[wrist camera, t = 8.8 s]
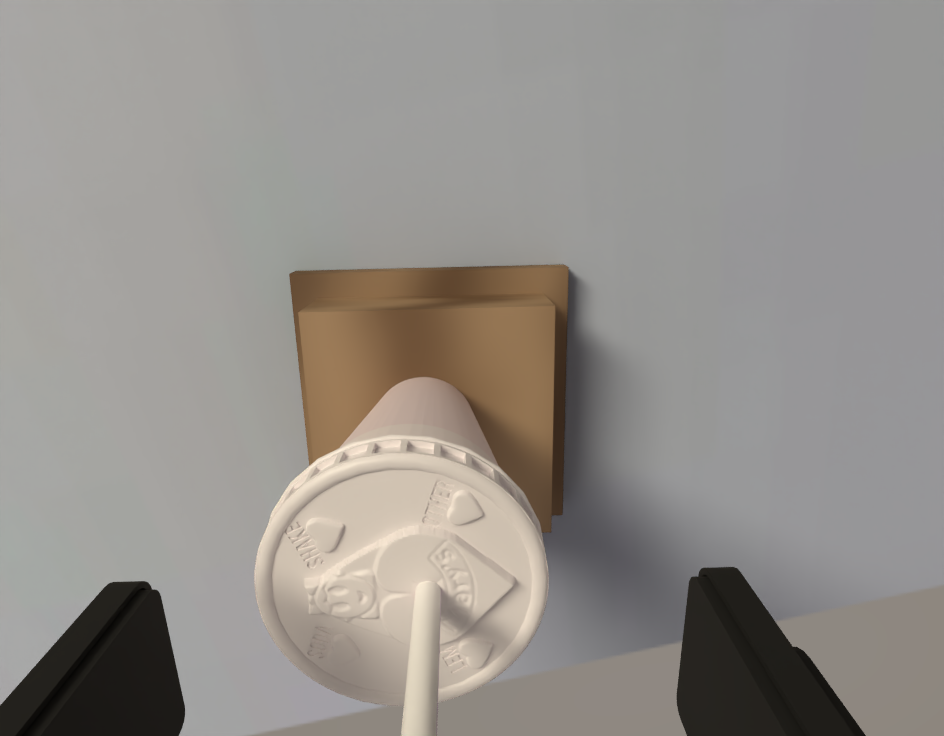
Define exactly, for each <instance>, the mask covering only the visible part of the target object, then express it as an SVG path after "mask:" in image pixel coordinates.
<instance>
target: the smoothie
mask: <svg viewBox="0 0 944 736" xmlns="http://www.w3.org/2000/svg"><path fill="white" fill-rule="evenodd" d="M254 578H255V593H256V600H257V604H258V607H259V611H260V614H261V617H262V619H263V622H264V624H265V626H266V628H267V630H268V632H269V634H270V636H271V637H272V639H273V640H274V642H275V644H276V645H277V646H278V648H279V649H280V650H281V651H282V653H283V654H284V655H285V656H286V657H287V658H288V659H289V660H290V661H291V662H292V663H293V664H294V665H295V666H296V667H297V668H298V669H299V670H301V671H302V672H303V673H304V674H306V675H307V676H308V677H310V678H311V679H313V680H314V681H316V682H318V683H319V684H321V685H323V686H324V687H326V688H328V689H330V690H333V691H335V692H336V693H339V694H342V695H345V696H347V697H350V698H353V699H357V700H360V701H363V702H369V703H374V704H381V705H388V706H404V711H403V721H402V732H401V736H437V717H438V715H437V714H438V702H443V701H446V700H449V699H453V698H456V697H459V696H461V695H464V694H467V693H469V692H471V691H473V690H475V689H477V688H479V687H481V686H483V685H485V684H486V683H488V682H490V681H491V680H493V679H494V678H495V677H497V676H498V675H500V674H501V673H502V672H503V671H505V670H506V669H507V668H508V667H509V666H510V665H511V664H512V663H513V662H514V661H515V660H516V659H517V658H518V657H519V656H520V655H521V654H522V652H523V651H524V650H525V649H526V647H527V646H528V644H529V643H530V641H531V640H532V638H533V637H534V635H535V633H536V631H537V629H538V627H539V625H540V622H541V619H542V617H543V614H544V610H545V606H546V602H547V596H548V584H549V575H548V565H547V560H546V552H545V547H544V542H543V537H542V531H541V526H540V522H539V520H538V518H537V516H536V514H535V513H534V511H533V509H532V507H531V505H530V503H529V501H528V499H527V497H526V495H525V493H524V492H523V491H522V490H521V489H520V488H519V487H518V486H517V485H516V484H515V483H514V481H513V480H512V479H511V478H510V477H509V476H508V475H507V474H506V473H505V472H504V471H503V470H502V469H501V468H500V467H499V466H498V464H497V462H496V460H495V458H494V455H493V453H492V451H491V449H490V447H489V445H488V443H487V441H486V439H485V436H484V434H483V432H482V430H481V428H480V426H479V424H478V422H477V420H476V418H475V415H474V413H473V411H472V409H471V407H470V405H469V403H468V401H467V400H466V398H465V397H464V396H463V394H462V393H461V392H460V391H459V390H458V389H456V388H455V387H454V386H452V385H451V384H449V383H447V382H445V381H442V380H439V379H436V378H430V377H417V378H412V379H408V380H405V381H403V382H400V383H398V384H397V385H395V386H394V387H392V388H391V389H390V390H389V391H388V392H387V393H386V394H385V395H384V396H383V397H382V398H381V400H380V401H379V402H378V403H377V404H376V405H375V407H374V408H373V409H372V410H371V411H370V412H369V414H368V415H367V416H366V417H365V418H364V420H363V421H362V422H361V423H360V424H359V425H358V427H357V428H356V429H355V430H354V431H353V432H352V434H351V435H350V436H349V437H348V438H347V439H346V441H345V442H344V443H343V444H342V445H341V447H340V448H339V449H337V450H335V451H333V452H330V453H328V454H326V455H324V456H322V457H320V458H318V459H317V460H316V461H315V462H313V463H312V464H311V465H310V466H309V467H308V468H307V469H305V470H304V471H303V472H302V473H301V474H300V475H299V476H297V477H296V478H295V479H294V480H293V481H292V482H291V483H290V484H289V486H288V487H287V489H286V490H285V492H284V494H283V495H282V497H281V498H280V500H279V501H278V503H277V505H276V506H275V508H274V509H273V511H272V513H271V517H270V520H269V524H268V526H267V528H266V530H265V533H264V535H263V537H262V540H261V543H260V546H259V549H258V553H257V558H256V563H255V573H254Z"/></svg>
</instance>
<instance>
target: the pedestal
mask: <svg viewBox="0 0 944 736" xmlns="http://www.w3.org/2000/svg"><path fill="white" fill-rule="evenodd" d="M568 268H569V267H567V266H566V265H526V266H484V267H442V268H400V269H358V270H316V271H295V272H293V273H290V274H289V275H290V285H291V294H292V304H293V314H294V323H295V333H296V342H297V352H298V361H299V371H300V380H301V390H302V399H303V409H304V418H305V428H306V437H307V447H308V456H309V466H310V465H311V464H312V463H313V462H315V461H316V460H317V459H318V458H320V457H322V456H324V455H326V454H328V453H330V452H333V451H335V450H337V449H339V448H340V447H341V445H342V444H343V443H344V442H345V441H346V439H347V438H348V437H349V436H350V435H351V434H352V432H353V431H354V430H355V429H356V428H357V427H358V425H359V424H360V423H361V422H362V421H363V420H364V418H365V417H366V416H367V415H368V414H369V412H370V411H371V410H372V409H373V408H374V407H375V405H376V404H377V403H378V402H379V401H380V400H381V398H382V397H383V396H384V395H385V394H386V393H387V392H388V391H389V390H390V389H391V388H392V387H394V386H395V385H397V384H398V383H400V382H403V381H405V380H408V379H412V378H417V377H430V378H436V379H439V380H442V381H445V382H447V383H449V384H451V385H452V386H454V387H455V388H456V389H458V390H459V391H460V392H461V393H462V394H463V396H464V397H465V398H466V400H467V401H468V403H469V405H470V407H471V409H472V411H473V413H474V415H475V418H476V420H477V422H478V424H479V426H480V428H481V430H482V432H483V434H484V436H485V439H486V441H487V443H488V445H489V447H490V449H491V451H492V453H493V455H494V458H495V460H496V462H497V464H498V466H499V467H500V468H501V469H502V470H503V471H504V472H505V473H506V474H507V475H508V476H509V477H510V478H511V479H512V480H513V481H514V483H515V484H516V485H517V486H518V487H519V488H520V489H521V490H522V491H523V492H524V493H525V495H526V497H527V499H528V501H529V503H530V505H531V507H532V509H533V511H534V513H535V514H536V516H537V518H538V520H539V522H540V526H541V531H542V533H544V532H551V515H562V514H563V473H564V432H565V391H566V350H567V309H568Z"/></svg>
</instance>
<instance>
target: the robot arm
mask: <svg viewBox="0 0 944 736" xmlns="http://www.w3.org/2000/svg"><path fill="white" fill-rule="evenodd" d="M677 706H678V711H679V715H680V718H681V721H682V723H683V726H684V728H685V731H686V734H687V736H866V735H865V734H864V733H863V731H862V730H861V729H860V727H859V726H858V724H857V723H856V721H855V720H854V719H853V717H852V716H851V715H850V713H849V712H848V710H847V709H846V708H845V706H844V705H843V703H842V702H841V701H840V699H839V698H838V697H837V695H836V694H835V692H834V691H833V689H832V688H831V687H830V685H829V684H828V683H827V681H826V680H825V678H824V677H823V676H822V674H821V673H820V672H819V670H818V669H817V667H816V666H815V664H814V663H813V662H812V660H811V659H810V658H809V657H808V656H807V654H806V653H805V652H804V651H803V650H801V649H799V648H798V647H792V645H791V644H790V642H789V641H788V639H787V638H786V637H785V635H784V634H783V633H782V631H781V630H780V628H779V627H778V625H777V624H776V622H775V621H774V619H773V618H772V617H771V615H770V614H769V612H768V611H767V609H766V608H765V607H764V605H763V604H762V602H761V601H760V599H759V598H758V597H757V595H756V594H755V592H754V591H753V589H752V588H751V587H750V585H749V584H748V582H747V581H746V579H745V578H744V577H743V575H742V574H741V572H740V571H739V570H738V569H737V568H734V567H721V568H702V569H701V570H700V572H699V576H698V577H691V579H690V581H689V588H688V597H687V606H686V615H685V624H684V633H683V642H682V651H681V661H680V670H679V679H678V688H677ZM184 717H185V705H184V701H183V696H182V692H181V687H180V682H179V678H178V673H177V669H176V664H175V659H174V655H173V650H172V646H171V641H170V636H169V632H168V627H167V623H166V618H165V613H164V609H163V604H162V600H161V596H160V593H159V592H158V591H157V590H152V588H151V586H150V584H149V583H148V582H145V581H136V582H112V583H109V584H108V585H107V586H106V587H104V589H103V590H102V591H101V592H100V593H99V594H98V595H97V596H96V598H95V599H94V600H93V601H92V602H91V603H90V604H89V606H88V607H87V608H86V609H85V610H84V611H83V612H82V613H81V615H80V616H79V617H78V618H77V619H76V620H75V621H74V623H73V624H72V625H71V626H70V627H69V628H68V629H67V630H66V632H65V633H64V634H63V635H62V636H61V637H60V638H59V640H58V641H57V642H56V643H55V644H54V645H53V646H52V647H51V649H50V650H49V651H48V652H47V653H46V654H45V655H44V657H43V658H42V659H41V660H40V661H39V662H38V663H37V665H36V666H35V667H34V668H33V669H32V670H31V671H30V672H29V674H28V675H27V676H26V677H25V678H24V679H23V680H22V682H21V683H20V684H19V685H18V686H17V687H16V688H15V689H14V691H13V692H12V693H11V694H10V695H9V696H8V697H7V699H6V700H5V701H4V702H3V703H2V704H1V705H0V736H179V734H180V731H181V729H182V726H183V723H184Z"/></svg>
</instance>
